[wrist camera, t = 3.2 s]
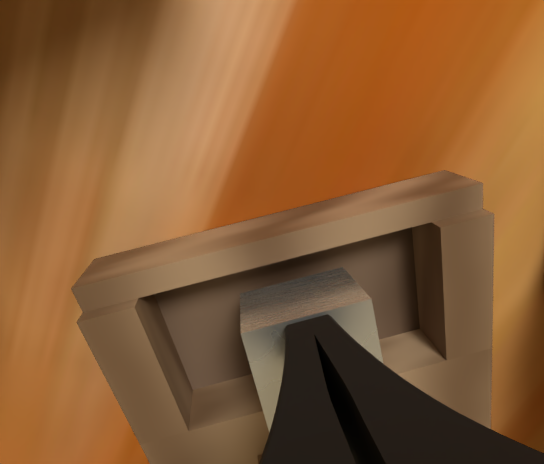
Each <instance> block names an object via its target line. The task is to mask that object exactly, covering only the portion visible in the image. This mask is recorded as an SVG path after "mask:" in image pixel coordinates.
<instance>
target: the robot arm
mask: <svg viewBox="0 0 544 464" xmlns="http://www.w3.org/2000/svg"><path fill="white" fill-rule="evenodd" d="M284 330H285V340H286V345H285V360H284V368H283V375H282V382H281V387H280V392H279V396H278V401H277V406H276V410H275V414H274V418H273V422H272V425H271V429H270V432H269V435H268V439H267V442H266V445H265V448H264V451H263V454H262V456H261V459H260V462H259V464H544V453H541V452H539V451H537V450H534V449H532V448H530V447H528V446H525V445H523V444H521V443H519V442H517V441H514V440H512V439H510V438H508V437H506V436H503V435H501V434H499V433H497V432H495V431H493V430H491V429H489V428H487V427H485V426H483V425H481V424H480V423H478V422H476V421H474V420H472V419H470V418H468V417H466V416H464V415H462V414H460V413H458V412H456V411H455V410H453V409H451V408H449V407H448V406H446V405H444V404H443V403H441V402H439V401H437V400H436V399H434V398H432V397H431V396H429V395H428V394H426V393H425V392H423V391H421V390H420V389H418V388H417V387H415V386H414V385H412V384H411V383H409V382H408V381H406V380H405V379H403V378H402V377H401V376H399V375H398V374H397V373H395V372H394V371H392V370H391V369H390V368H388V367H387V366H386V365H384V364H383V363H382V362H381V361H379V360H378V359H377V358H376V357H374V356H373V355H372V354H371V353H370V352H368V351H367V350H366V349H365V348H364V347H362V346H361V345H360V344H359V343H358V342H357V341H356V340H354V339H353V338H352V337H351V336H350V335H349V334H348V333H347V332H346V331H345V330H344V329H343V328H342V327H341V326H340V325H339V324H338V323H337V322H336V321H335V320H334V319H333V318H332V317H331V316H330V315H328V314H326V315H323V316H319V317H315V318H311V319H308V320H304V321H300V322H296V323H293V324H289V325H287V326H286V327H285V329H284Z"/></svg>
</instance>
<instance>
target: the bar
mask: <svg viewBox="0 0 544 464" xmlns="http://www.w3.org/2000/svg"><path fill="white" fill-rule="evenodd" d="M326 314H328V315H330V316H331V317H332V318H333V319H334V320H335V321H336V322H337V323H338V324H339V325H340V326H341V327H342V328H343V329H344V330H345V331H346V332H347V333H348V334H349V335H350V336H351V337H352V338H353V339H354V340H356V341H357V342H358V343H359V344H360V345H361V346H362V347H364V348H365V349H366V350H367V351H368V352H370V353H371V354H372V355H373V356H374V357H376V358H377V359H378V360H379V361H381V362H382V363H383V358H382V353H381V348H380V342H379V337H378V331H377V326H376V320H375V315H374V310H373V304H372V299H371V298H370V297H369V296H368V294H367V293H366V292H365V291H364V290H363V289H362V288H361V287H360V286H359V284H358V283H357V282H356V281H355V280H354V279H353V278H352V277H351V275H350V274H349V273H348V272H347V271H346V270H345V269H344V268H343V267H340V268H336V269H332V270H329V271H325V272H321V273H317V274H313V275H310V276H306V277H302V278H298V279H294V280H290V281H287V282H283V283H279V284H275V285H271V286H267V287H264V288H260V289H256V290H252V291H248V292H245V293H241V294H240V326H241V337H242V340H243V344H244V347H245V350H246V354H247V357H248V361H249V364H250V368H251V371H252V375H253V378H254V382H255V385H256V388H257V392H258V395H259V399H260V402H261V406H262V409H263V413H264V416H265V420H266V423H267V426H268V430H269V432H270V429H271V425H272V422H273V418H274V414H275V410H276V406H277V401H278V396H279V392H280V387H281V382H282V375H283V368H284V360H285V345H286V340H285V330H284V329H285V327H286V326H287V325H289V324H293V323H296V322H300V321H304V320H308V319H311V318H315V317H319V316H323V315H326Z"/></svg>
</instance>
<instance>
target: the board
mask: <svg viewBox="0 0 544 464" xmlns="http://www.w3.org/2000/svg"><path fill="white" fill-rule="evenodd" d="M493 260H494V213H491V212H489V211H487V210H484V209H483V183H481V182H478V181H475V180H472V179H469V178H466V177H463V176H461V175H458V174H455V173H452V172H449V171H446V170H444V171H440V172H436V173H432V174H428V175H424V176H420V177H416V178H412V179H408V180H404V181H400V182H396V183H392V184H388V185H385V186H381V187H377V188H373V189H369V190H365V191H361V192H357V193H353V194H349V195H345V196H341V197H337V198H333V199H329V200H325V201H322V202H318V203H314V204H310V205H306V206H302V207H298V208H294V209H290V210H286V211H282V212H278V213H274V214H270V215H266V216H263V217H259V218H255V219H251V220H247V221H243V222H239V223H235V224H231V225H227V226H223V227H219V228H215V229H211V230H207V231H203V232H200V233H196V234H192V235H188V236H184V237H180V238H176V239H172V240H168V241H164V242H160V243H156V244H152V245H148V246H144V247H140V248H137V249H133V250H129V251H125V252H121V253H117V254H113V255H109V256H105V257H101V258H97V259H94V260H93V262H92V263H91V264H90V265H89V267H88V268H87V269H86V270H85V272H84V273H83V274H82V275H81V277H80V278H79V279H78V281H77V282H76V283H75V284H74V286H73V287H72V288H71V290H72V292H73V294H74V296H75V298H76V300H77V302H78V304H79V306H80V307H81V309H82V311H83V313H82V315H81V316H80V318H79V319H78V321H77V324H78V326H79V328H80V330H81V332H82V334H83V336H84V338H85V340H86V341H87V343H88V345H89V347H90V349H91V351H92V353H93V355H94V357H95V359H96V361H97V363H98V364H99V366H100V368H101V370H102V372H103V374H104V376H105V378H106V380H107V382H108V384H109V386H110V388H111V389H112V391H113V393H114V395H115V397H116V399H117V401H118V403H119V405H120V407H121V409H122V411H123V413H124V414H125V416H126V418H127V420H128V422H129V424H130V426H131V428H132V430H133V432H134V434H135V436H136V438H137V439H138V441H139V443H140V445H141V447H142V449H143V451H144V453H145V455H146V457H147V459H148V461H149V462H150V464H259V462H260V459H261V456H262V454H263V451H264V448H265V445H266V442H267V439H268V435H269V430H268V426H267V423H266V420H265V416H264V413H263V409H262V406H261V402H260V399H259V395H258V392H257V388H256V385H255V382H254V378H253V375H252V371H251V368H250V364H249V361H248V357H247V354H246V350H245V347H244V344H243V340H242V337H241V326H240V294H241V293H245V292H248V291H252V290H256V289H260V288H264V287H267V286H271V285H275V284H279V283H283V282H287V281H290V280H294V279H298V278H302V277H306V276H310V275H313V274H317V273H321V272H325V271H329V270H332V269H336V268H340V267H343V268H344V269H345V270H346V271H347V272H348V273H349V274H350V275H351V277H352V278H353V279H354V280H355V281H356V282H357V283H358V284H359V286H360V287H361V288H362V289H363V290H364V291H365V292H366V293H367V294H368V296H369V297H370V298H371V299H372V304H373V310H374V315H375V320H376V326H377V331H378V337H379V342H380V348H381V353H382V358H383V364H384V365H386V366H387V367H388V368H390V369H391V370H392V371H394V372H395V373H397V374H398V375H399V376H401V377H402V378H403V379H405V380H406V381H408V382H409V383H411V384H412V385H414V386H415V387H417V388H418V389H420V390H421V391H423V392H425V393H426V394H428V395H429V396H431V397H432V398H434V399H436V400H437V401H439V402H441V403H443V404H444V405H446V406H448V407H449V408H451V409H453V410H455V411H456V412H458V413H460V414H462V415H464V416H466V417H468V418H470V419H472V420H474V421H476V422H478V423H480V424H481V425H483V426H485V427H487V428H489V429H491V387H492V324H493Z"/></svg>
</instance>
